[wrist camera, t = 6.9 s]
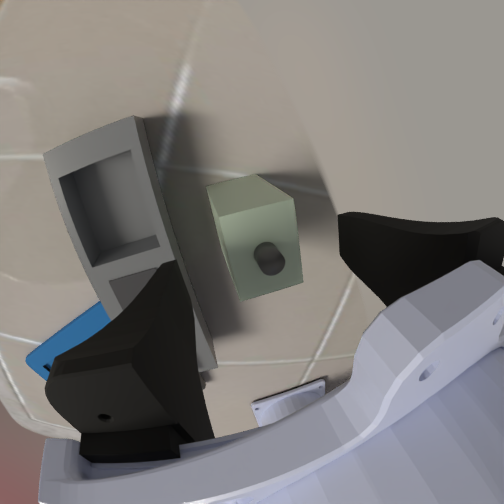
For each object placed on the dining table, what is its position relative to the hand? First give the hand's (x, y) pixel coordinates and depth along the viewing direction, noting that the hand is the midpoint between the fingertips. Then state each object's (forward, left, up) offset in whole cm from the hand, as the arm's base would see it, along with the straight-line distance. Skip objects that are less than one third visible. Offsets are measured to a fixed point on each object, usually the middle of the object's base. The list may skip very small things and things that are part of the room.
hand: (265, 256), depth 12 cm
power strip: (-3, +6, -6) cm, 9 cm away
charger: (0, 0, -6) cm, 6 cm away
